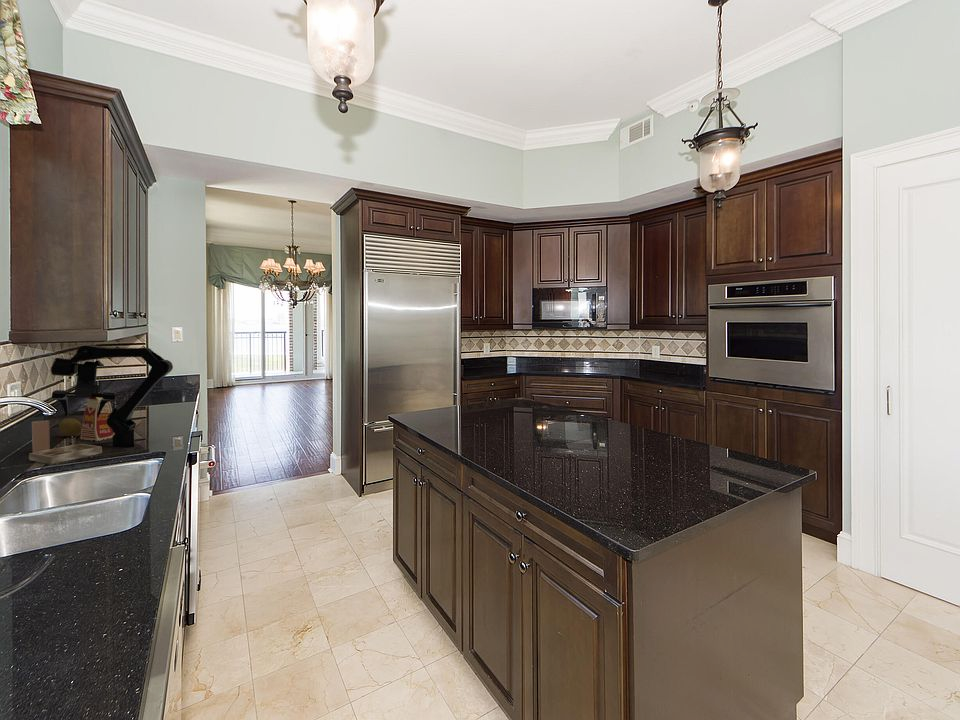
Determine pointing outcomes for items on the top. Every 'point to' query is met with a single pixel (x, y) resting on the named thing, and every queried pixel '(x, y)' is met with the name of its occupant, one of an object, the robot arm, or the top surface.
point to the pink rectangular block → (40, 436)
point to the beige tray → (65, 453)
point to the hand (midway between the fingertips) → (82, 417)
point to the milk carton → (96, 421)
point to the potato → (70, 427)
